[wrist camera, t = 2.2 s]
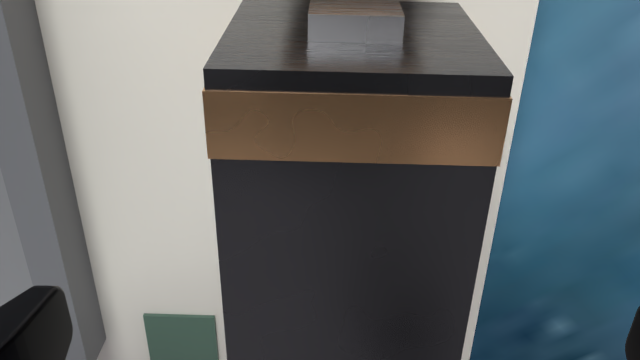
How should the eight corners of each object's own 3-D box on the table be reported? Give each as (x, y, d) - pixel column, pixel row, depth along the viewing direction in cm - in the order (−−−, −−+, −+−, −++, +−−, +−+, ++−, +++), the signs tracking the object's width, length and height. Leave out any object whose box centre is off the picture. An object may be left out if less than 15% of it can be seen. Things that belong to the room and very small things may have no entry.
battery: (418, 311, 15) (444, 457, 11) (256, 306, 15) (232, 450, 11) (462, -20, 11) (522, 45, 7) (241, -25, 11) (197, 38, 7)
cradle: (446, 336, 19) (475, 468, 15) (-126, 320, 19) (-247, 445, 15) (532, -191, 12) (631, -209, 8) (-369, -208, 12) (-713, -234, 8)
